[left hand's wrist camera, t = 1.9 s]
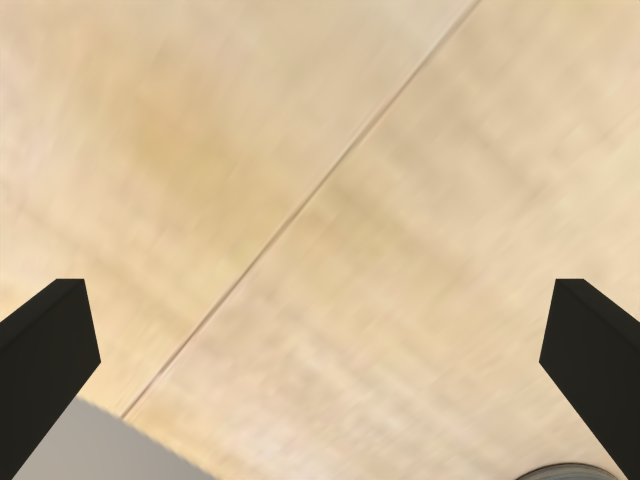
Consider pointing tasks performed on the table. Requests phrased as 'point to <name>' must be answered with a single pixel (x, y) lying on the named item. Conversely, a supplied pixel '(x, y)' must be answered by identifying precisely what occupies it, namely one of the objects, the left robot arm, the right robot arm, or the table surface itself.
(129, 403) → the table surface
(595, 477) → the right robot arm
